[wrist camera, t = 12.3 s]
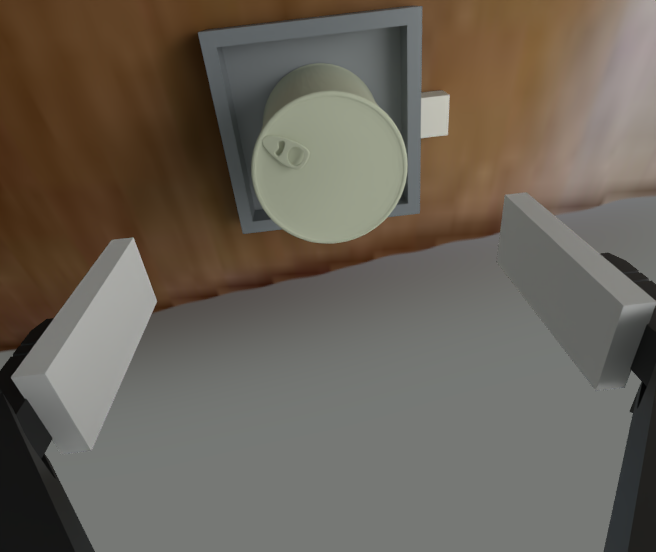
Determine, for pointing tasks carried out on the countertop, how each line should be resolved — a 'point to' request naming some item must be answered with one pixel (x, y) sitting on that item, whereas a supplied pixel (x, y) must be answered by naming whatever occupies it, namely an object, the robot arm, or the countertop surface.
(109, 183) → the countertop surface
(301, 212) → the can
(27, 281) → the countertop surface
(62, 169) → the countertop surface
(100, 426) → the robot arm
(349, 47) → the drawer
